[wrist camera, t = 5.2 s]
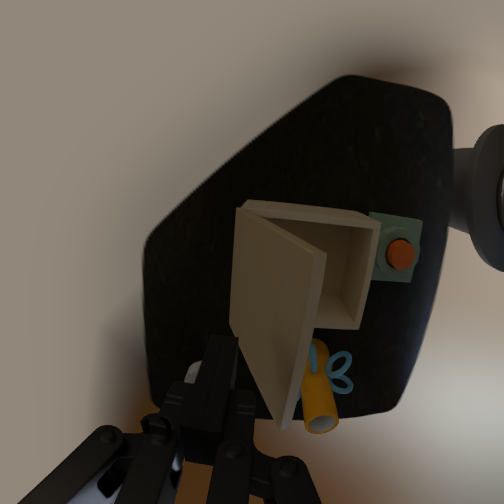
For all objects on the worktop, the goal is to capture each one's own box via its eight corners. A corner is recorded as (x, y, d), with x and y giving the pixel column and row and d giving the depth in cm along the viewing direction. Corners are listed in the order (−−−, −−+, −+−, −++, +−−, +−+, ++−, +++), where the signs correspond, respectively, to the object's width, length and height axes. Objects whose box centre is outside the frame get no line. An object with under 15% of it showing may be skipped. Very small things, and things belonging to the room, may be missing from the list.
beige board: (328, 253, 13) (313, 253, 13) (289, 428, 17) (278, 430, 16) (244, 207, 27) (236, 207, 27) (236, 322, 31) (229, 323, 30)
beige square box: (357, 211, 35) (381, 222, 27) (342, 298, 39) (358, 329, 30) (247, 199, 36) (240, 207, 28) (240, 290, 39) (233, 320, 31)
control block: (417, 219, 35) (429, 223, 32) (405, 278, 37) (415, 287, 34) (369, 211, 35) (378, 215, 32) (358, 274, 38) (365, 284, 34)
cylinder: (321, 307, 39) (343, 373, 25) (357, 349, 41) (385, 415, 27) (257, 353, 42) (251, 425, 28) (297, 388, 44) (304, 457, 29)
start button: (411, 240, 33) (417, 244, 31) (406, 266, 34) (411, 271, 32) (388, 237, 33) (394, 241, 31) (383, 264, 34) (388, 268, 32)
